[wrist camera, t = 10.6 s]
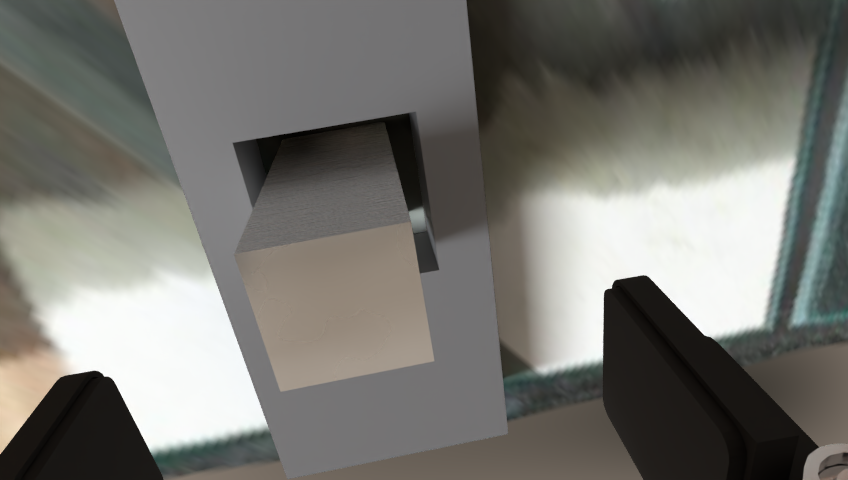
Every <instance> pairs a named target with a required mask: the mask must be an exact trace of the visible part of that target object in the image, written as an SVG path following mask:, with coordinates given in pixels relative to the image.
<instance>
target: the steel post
mask: <svg viewBox="0 0 848 480" xmlns="http://www.w3.org/2000/svg"><path fill="white" fill-rule="evenodd" d="M234 256H235V259H236V262H237V265H238V268H239V271H240V274H241V277H242V280H243V283H244V286H245V289H246V292H247V294H248V297H249V300H250V303H251V306H252V309H253V312H254V315H255V318H256V321H257V324H258V327H259V330H260V333H261V336H262V339H263V342H264V345H265V348H266V351H267V353H268V356H269V359H270V362H271V365H272V368H273V371H274V374H275V377H276V380H277V383H278V386H279V389H280V392H282V391H287V390H292V389H297V388H302V387H307V386H312V385H317V384H322V383H327V382H332V381H337V380H342V379H347V378H352V377H357V376H362V375H368V374H373V373H378V372H383V371H388V370H393V369H398V368H403V367H408V366H413V365H418V364H423V363H428V362H433V361H434V355H433V349H432V343H431V337H430V332H429V326H428V320H427V314H426V308H425V302H424V296H423V290H422V284H421V278H420V272H419V266H418V260H417V255H416V249H415V243H414V237H413V231H412V225H411V220H410V216H409V212H408V209H407V205H406V201H405V197H404V194H403V190H402V186H401V182H400V179H399V175H398V171H397V167H396V164H395V160H394V156H393V152H392V149H391V145H390V141H389V137H388V134H387V130H386V126H385V122H379V123H374V124H368V125H362V126H356V127H351V128H345V129H339V130H333V131H328V132H322V133H316V134H310V135H305V136H299V137H293V138H287V139H283V140H282V143H281V145H280V147H279V150H278V152H277V154H276V157H275V159H274V161H273V164H272V166H271V168H270V171H269V173H268V175H267V178H266V180H265V182H264V185H263V187H262V189H261V192H260V194H259V196H258V199H257V201H256V203H255V206H254V208H253V210H252V213H251V215H250V218H249V220H248V222H247V225H246V227H245V229H244V232H243V234H242V236H241V239H240V241H239V243H238V246H237V248H236V250H235V253H234Z"/></svg>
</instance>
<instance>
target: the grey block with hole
mask: <svg viewBox="0 0 848 480" xmlns="http://www.w3.org/2000/svg"><path fill="white" fill-rule="evenodd" d="M114 1H115V4H116V7H117V9H118V12H119V15H120V18H121V21H122V23H123V26H124V29H125V32H126V34H127V37H128V40H129V43H130V45H131V48H132V51H133V54H134V56H135V59H136V62H137V65H138V68H139V70H140V73H141V76H142V79H143V81H144V84H145V87H146V90H147V92H148V95H149V98H150V101H151V103H152V106H153V109H154V112H155V115H156V117H157V120H158V123H159V126H160V128H161V131H162V134H163V137H164V139H165V142H166V145H167V148H168V150H169V153H170V156H171V159H172V162H173V164H174V167H175V170H176V173H177V175H178V178H179V181H180V184H181V186H182V189H183V192H184V195H185V197H186V200H187V203H188V206H189V209H190V211H191V214H192V217H193V220H194V222H195V225H196V228H197V231H198V233H199V236H200V239H201V242H202V244H203V247H204V250H205V253H206V256H207V258H208V261H209V264H210V267H211V269H212V272H213V275H214V278H215V280H216V283H217V286H218V289H219V291H220V294H221V297H222V300H223V303H224V305H225V308H226V311H227V314H228V316H229V319H230V322H231V325H232V327H233V330H234V333H235V336H236V338H237V341H238V344H239V347H240V349H241V352H242V355H243V358H244V361H245V363H246V366H247V369H248V372H249V374H250V377H251V380H252V383H253V385H254V388H255V391H256V394H257V396H258V399H259V402H260V405H261V408H262V410H263V413H264V416H265V419H266V421H267V424H268V427H269V430H270V432H271V435H272V438H273V441H274V443H275V446H276V449H277V452H278V455H279V457H280V460H281V463H282V466H283V468H284V471H285V474H286V476H287V479H291V478H296V477H300V476H305V475H310V474H315V473H320V472H325V471H330V470H335V469H340V468H345V467H349V466H354V465H359V464H364V463H369V462H374V461H379V460H384V459H388V458H393V457H398V456H403V455H408V454H412V453H418V452H422V451H427V450H432V449H437V448H442V447H447V446H452V445H457V444H461V443H466V442H471V441H476V440H481V439H486V438H491V437H495V436H500V435H505V434H508V429H507V418H506V408H505V397H504V387H503V376H502V366H501V356H500V345H499V335H498V324H497V314H496V304H495V293H494V283H493V273H492V262H491V252H490V241H489V231H488V221H487V210H486V200H485V190H484V179H483V169H482V158H481V148H480V138H479V127H478V117H477V107H476V96H475V86H474V75H473V65H472V55H471V44H470V34H469V24H468V13H467V3H466V0H114ZM405 113H409V117H410V123H411V130H412V136H413V143H414V149H415V156H416V162H417V169H418V176H419V182H420V189H421V195H422V202H423V208H424V215H425V221H426V228H427V232H423V233H418V234H413V237H414V243H415V249H416V255H417V260H418V266H419V272H420V278H421V284H422V290H423V296H424V302H425V308H426V314H427V320H428V326H429V332H430V337H431V343H432V349H433V355H434V361H433V362H428V363H423V364H418V365H413V366H408V367H403V368H398V369H393V370H388V371H383V372H378V373H373V374H368V375H362V376H357V377H352V378H347V379H342V380H337V381H332V382H327V383H322V384H317V385H312V386H307V387H302V388H297V389H292V390H287V391H282V392H280V389H279V386H278V383H277V380H276V377H275V374H274V371H273V368H272V365H271V362H270V359H269V356H268V353H267V351H266V348H265V345H264V342H263V339H262V336H261V333H260V330H259V327H258V324H257V321H256V318H255V315H254V312H253V309H252V306H251V303H250V300H249V297H248V294H247V292H246V289H245V286H244V283H243V280H242V277H241V274H240V271H239V268H238V265H237V262H236V259H235V256H234V253H235V250H236V248H237V246H238V243H239V241H240V239H241V236H242V234H243V232H244V229H245V227H246V225H247V222H248V220H249V218H250V215H251V213H252V210H253V208H254V206H255V203H256V201H257V199H258V196H259V194H260V192H261V189H262V187H263V185H264V182H265V180H266V178H267V176H266V173H265V169H264V166H263V162H262V159H261V155H260V152H259V148H258V144H257V141H256V139H258V138H264V137H270V136H276V135H282V134H287V133H293V132H299V131H305V130H311V129H317V128H323V127H329V126H334V125H340V124H346V123H352V122H358V121H364V120H370V119H375V118H381V117H387V116H393V115H399V114H405Z"/></svg>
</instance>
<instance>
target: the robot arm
mask: <svg viewBox="0 0 848 480" xmlns="http://www.w3.org/2000/svg"><path fill="white" fill-rule="evenodd" d="M603 402H604V406H605V410H606V412H607V415H608V417H609V419H610V420H611V422H612V424H613V426H614V428H615V429H616V431H617V433H618V435H619V436H620V438H621V440H622V442H623V444H624V445H625V447H626V449H627V451H628V453H629V454H630V456H631V458H632V460H633V462H634V463H635V465H636V467H637V469H638V470H639V472H640V474H641V476H642V478H643V480H848V444H831V445H827V446H823V447H820V448H819V447H818V446H817V445H816V444H815V442H813V440H811V438H810V437H809V436H808V435H806V433H805V432H804V431H803V430H802V429H801V428H800V427H799V426H798V425H797V424H796V423H795V422H794V421H793V420H792V419H791V418H790V417H789V416H788V415H787V414H786V413H785V412H784V411H783V410H782V409H781V407H780V406H779V405H777V403H776V402H775V401H774V400H773V399H772V398H771V397H770V396H769V395H768V394H767V393H766V392H765V391H764V390H763V389H762V388H761V387H760V386H759V385H758V384H757V383H756V382H755V381H754V380H753V379H752V378H751V377H750V376H749V375H748V374H747V372H745V371H744V369H743V368H742V367H741V366H740V365H739V364H738V363H737V362H736V361H735V360H734V359H733V358H732V357H731V356H730V355H729V354H728V353H727V352H726V351H725V350H724V349H723V348H722V347H721V346H720V345H719V344H718V343H717V342H716V341H715V340H713V339H712V338H711V337H707V336H704V335H703V334H702V333H701V332H700V330H699V329H698V328H697V327H696V326H695V325H694V324H693V323H692V322H691V321H690V320H689V319H688V318H687V317H686V316H685V315H684V314H683V313H682V312H681V311H680V309H679V308H678V307H677V306H676V305H675V304H674V303H673V302H672V301H671V300H670V299H669V298H668V297H667V296H666V295H665V294H664V293H663V292H662V291H661V290H660V289H659V287H658V286H657V285H656V284H655V283H654V282H653V281H652V280H651V279H650V278H649V277H647V276H644V275H643V276H637V277H631V278H625V279H620V280H616V281H614V283H613V285H612V289H607V290H606V291H605V293H604V335H603ZM0 480H163V477H162V474H161V472H160V470H159V468H158V466H157V464H156V462H155V460H154V459H153V457H152V455H151V453H150V451H149V449H148V447H147V445H146V443H145V441H144V439H143V437H142V435H141V433H140V431H139V429H138V427H137V425H136V423H135V421H134V420H133V418H132V416H131V414H130V412H129V410H128V408H127V406H126V404H125V402H124V400H123V398H122V396H121V394H120V392H119V390H118V388H117V386H116V384H115V383H114V381H113V380H112V379H111V378H110V377H104V376H103V374H101V373H100V372H99V371H90V372H84V373H79V374H73V375H67V376H63V377H61V378H60V379H59V380H58V381H56V383H55V384H54V385H53V387H52V388H51V389H50V391H49V392H48V393H47V394H46V396H45V397H44V398H43V400H42V401H41V402H40V404H39V405H38V406H37V407H36V409H35V410H34V411H33V413H32V414H31V415H30V417H29V418H28V419H27V420H26V422H25V423H24V424H23V426H22V427H21V428H20V430H19V431H18V432H17V433H16V435H15V436H14V437H13V439H12V440H11V441H10V443H9V444H8V445H7V447H6V448H5V449H4V450H3V452H2V453H1V454H0Z"/></svg>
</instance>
